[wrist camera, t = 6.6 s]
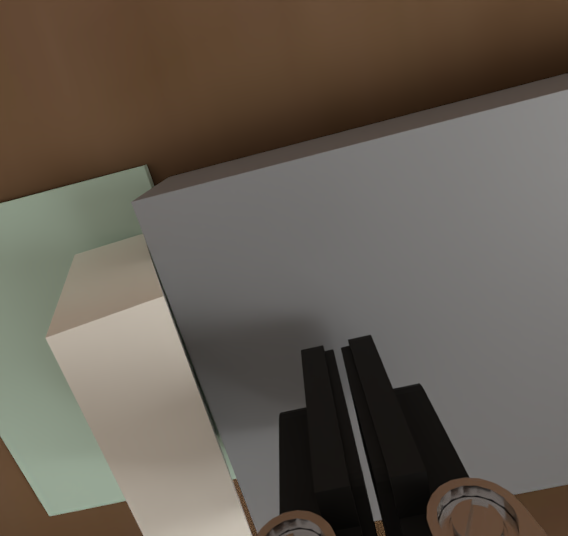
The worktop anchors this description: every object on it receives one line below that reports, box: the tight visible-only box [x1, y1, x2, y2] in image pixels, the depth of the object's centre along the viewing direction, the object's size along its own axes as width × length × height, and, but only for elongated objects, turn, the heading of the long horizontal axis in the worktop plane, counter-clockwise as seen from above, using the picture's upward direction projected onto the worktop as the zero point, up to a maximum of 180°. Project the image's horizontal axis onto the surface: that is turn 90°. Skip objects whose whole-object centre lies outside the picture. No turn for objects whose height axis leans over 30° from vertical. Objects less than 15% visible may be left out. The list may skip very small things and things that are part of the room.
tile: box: [45, 234, 252, 536], centre depth 12 cm, size 6×8×2 cm
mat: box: [0, 165, 237, 516], centre depth 15 cm, size 8×12×1 cm
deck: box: [131, 73, 568, 533], centre depth 13 cm, size 15×11×4 cm
